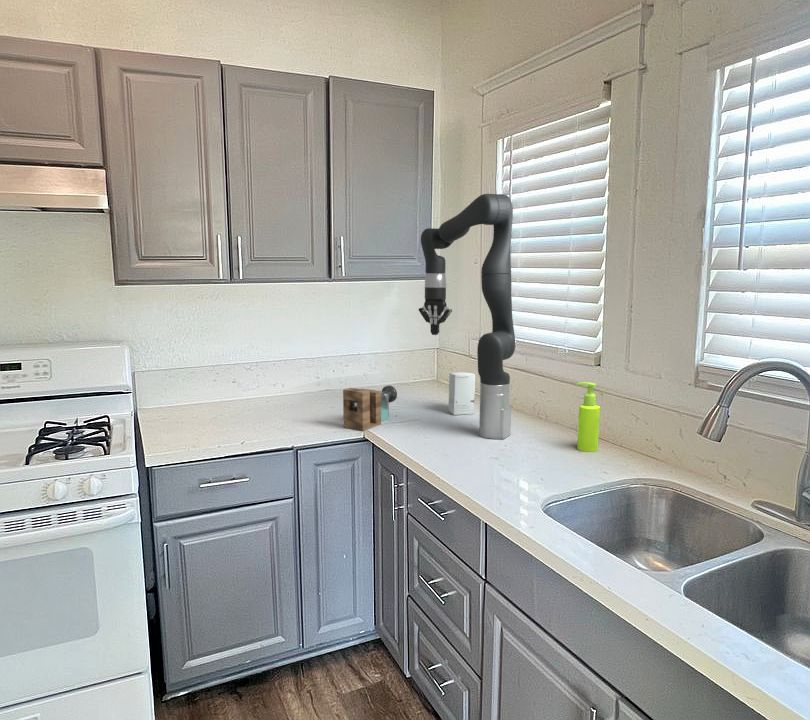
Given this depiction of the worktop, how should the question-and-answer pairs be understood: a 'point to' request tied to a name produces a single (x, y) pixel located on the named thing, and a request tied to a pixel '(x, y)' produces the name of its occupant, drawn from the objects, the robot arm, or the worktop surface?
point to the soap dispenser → (588, 421)
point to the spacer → (384, 414)
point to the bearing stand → (361, 408)
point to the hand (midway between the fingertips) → (434, 334)
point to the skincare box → (461, 393)
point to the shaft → (383, 397)
